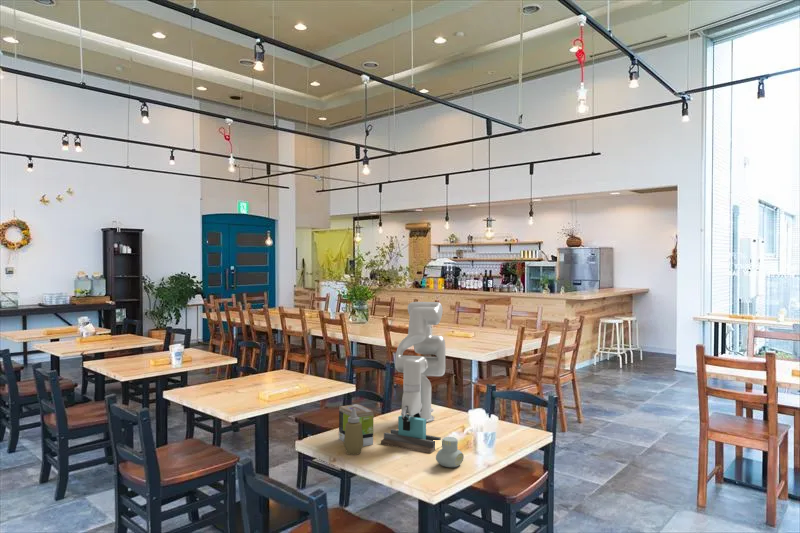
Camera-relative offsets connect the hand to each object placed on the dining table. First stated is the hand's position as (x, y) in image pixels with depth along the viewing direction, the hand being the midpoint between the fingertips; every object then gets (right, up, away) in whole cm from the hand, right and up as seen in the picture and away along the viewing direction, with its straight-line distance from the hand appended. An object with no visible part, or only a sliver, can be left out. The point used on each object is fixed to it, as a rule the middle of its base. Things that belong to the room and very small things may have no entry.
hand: (411, 427), depth 227 cm
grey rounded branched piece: (+14, -7, -24) cm, 29 cm away
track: (0, -7, 0) cm, 7 cm away
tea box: (-24, -8, +3) cm, 26 cm away
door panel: (0, -6, 0) cm, 6 cm away
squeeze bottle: (-24, -7, -11) cm, 27 cm away
